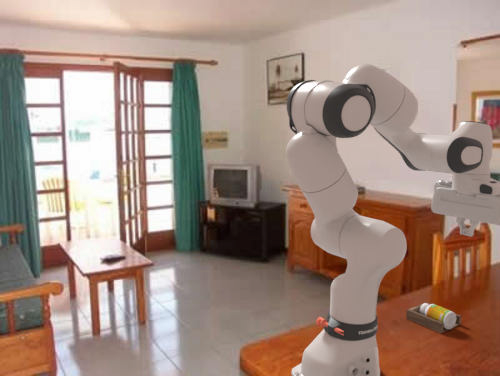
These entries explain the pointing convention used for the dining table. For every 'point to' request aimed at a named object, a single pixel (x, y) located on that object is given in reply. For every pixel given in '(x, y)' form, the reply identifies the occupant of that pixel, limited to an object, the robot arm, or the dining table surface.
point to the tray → (428, 320)
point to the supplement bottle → (439, 314)
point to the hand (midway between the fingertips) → (466, 235)
